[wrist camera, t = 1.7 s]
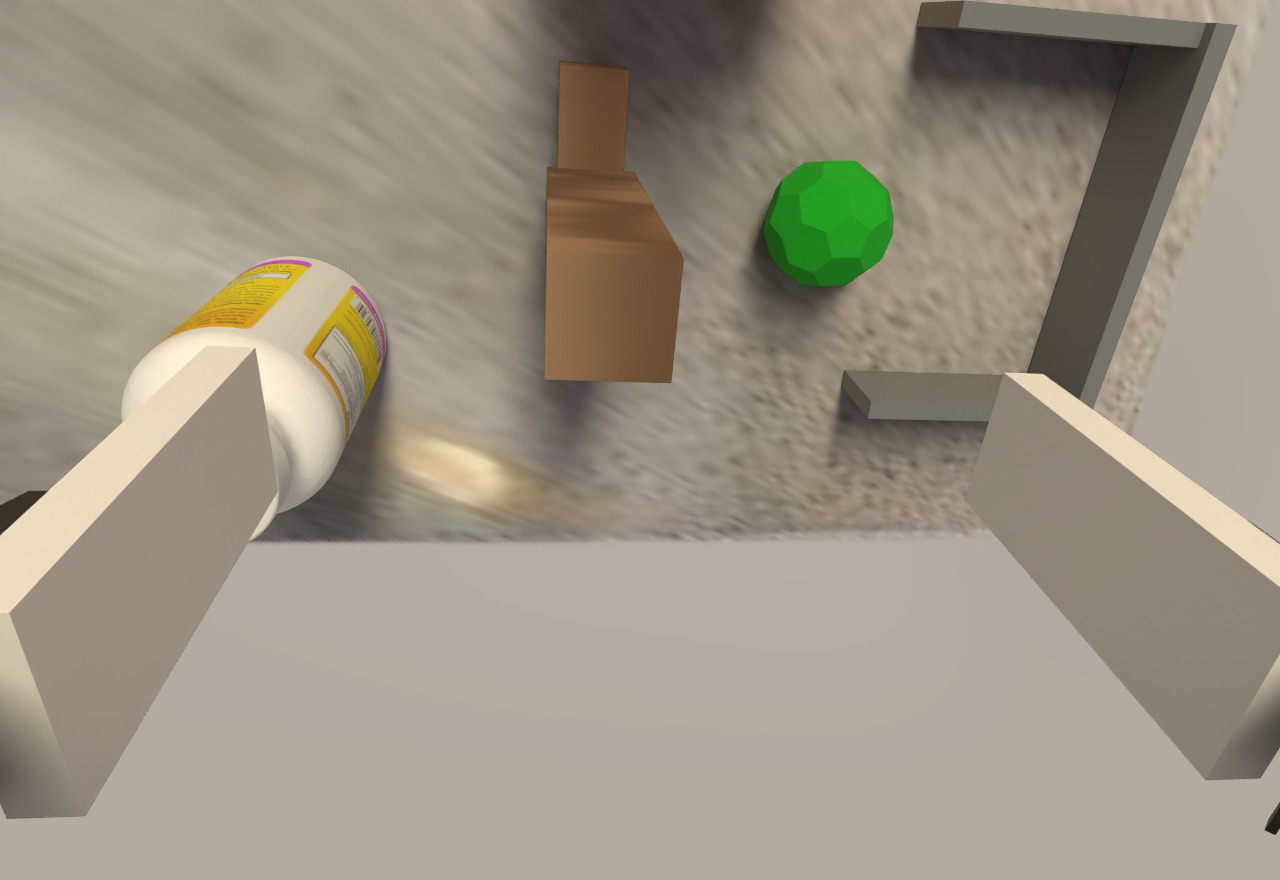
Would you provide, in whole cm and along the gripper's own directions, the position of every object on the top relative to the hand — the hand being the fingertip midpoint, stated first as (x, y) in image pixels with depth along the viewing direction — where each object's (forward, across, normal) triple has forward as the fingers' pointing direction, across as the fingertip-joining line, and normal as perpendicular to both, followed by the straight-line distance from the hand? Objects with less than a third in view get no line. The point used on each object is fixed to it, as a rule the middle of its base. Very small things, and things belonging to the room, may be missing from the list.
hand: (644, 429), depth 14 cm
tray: (+21, +17, 0) cm, 27 cm away
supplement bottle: (+21, -12, -6) cm, 25 cm away
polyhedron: (+21, +9, 0) cm, 23 cm away
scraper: (+21, 0, 0) cm, 21 cm away
